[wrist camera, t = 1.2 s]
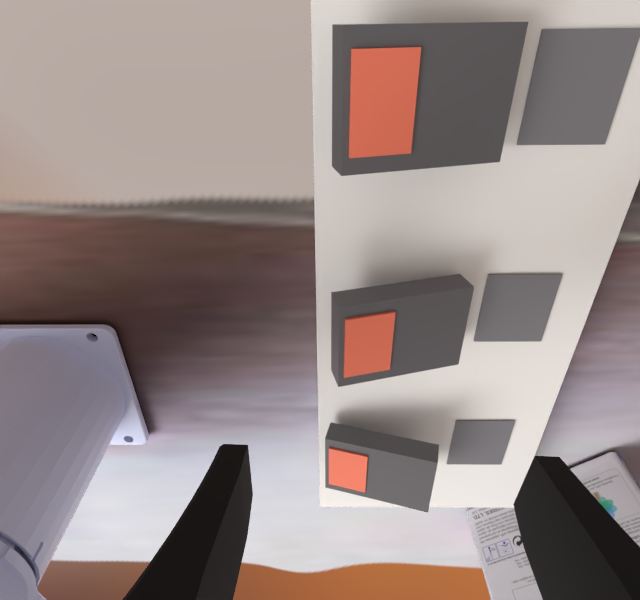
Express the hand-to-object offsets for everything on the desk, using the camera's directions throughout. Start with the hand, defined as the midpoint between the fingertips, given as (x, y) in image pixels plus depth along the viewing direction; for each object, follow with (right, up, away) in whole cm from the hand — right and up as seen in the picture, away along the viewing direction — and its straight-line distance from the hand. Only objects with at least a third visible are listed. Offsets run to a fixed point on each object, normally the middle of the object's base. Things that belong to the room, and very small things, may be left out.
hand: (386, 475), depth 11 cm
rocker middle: (+1, +4, +6) cm, 7 cm away
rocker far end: (+1, -3, +10) cm, 11 cm away
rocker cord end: (+1, +10, +1) cm, 11 cm away
